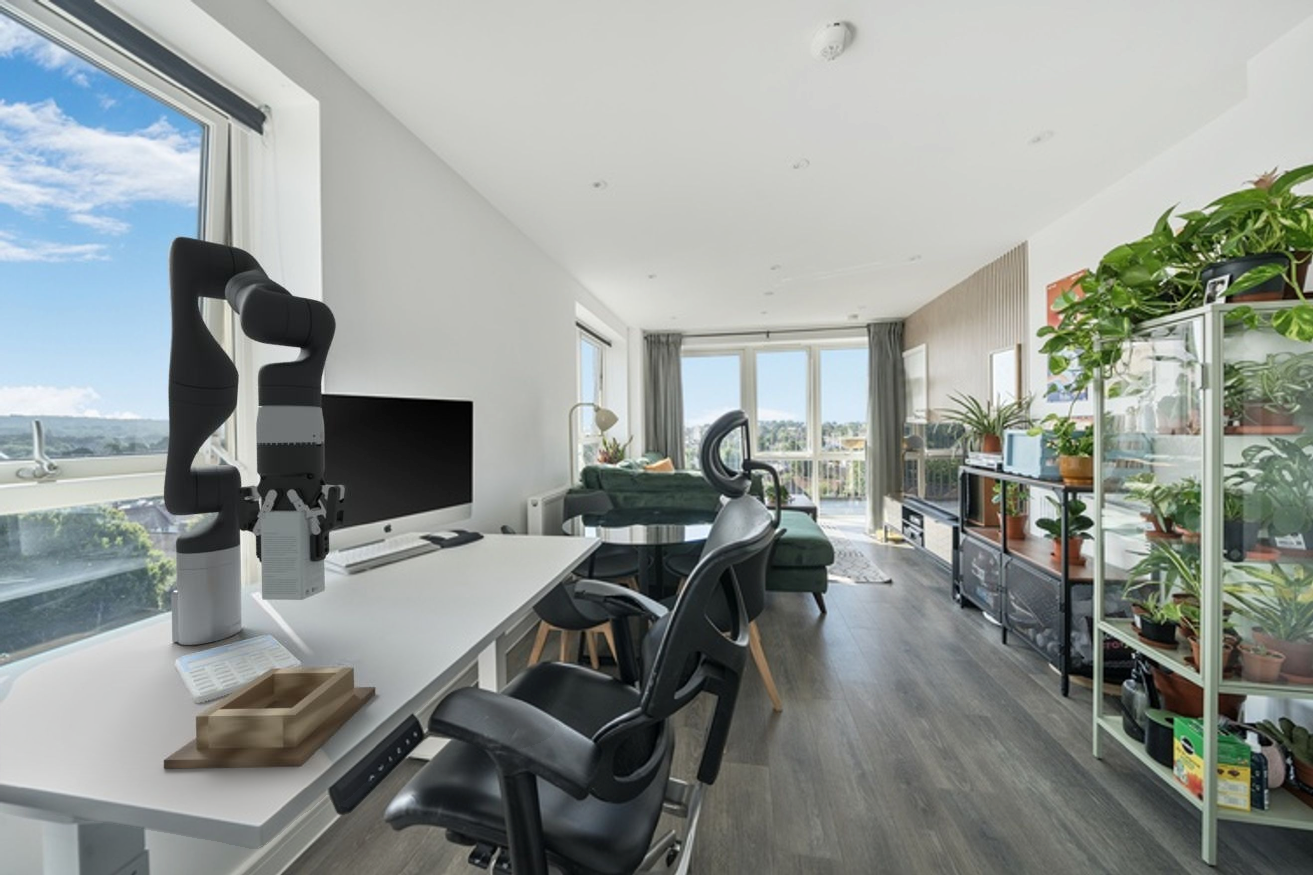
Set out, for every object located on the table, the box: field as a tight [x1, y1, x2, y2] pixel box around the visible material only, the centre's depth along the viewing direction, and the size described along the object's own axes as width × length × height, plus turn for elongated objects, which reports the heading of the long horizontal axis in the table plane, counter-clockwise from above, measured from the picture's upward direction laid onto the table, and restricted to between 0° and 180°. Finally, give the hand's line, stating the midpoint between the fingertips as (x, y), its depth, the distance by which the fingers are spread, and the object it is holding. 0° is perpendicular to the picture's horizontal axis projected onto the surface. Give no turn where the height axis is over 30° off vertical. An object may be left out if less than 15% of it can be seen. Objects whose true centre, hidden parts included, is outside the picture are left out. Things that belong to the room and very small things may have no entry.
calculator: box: [174, 634, 303, 704], centre depth 82 cm, size 13×20×2 cm, turn 51°
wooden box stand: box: [163, 667, 376, 769], centre depth 66 cm, size 16×16×5 cm
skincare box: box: [260, 508, 326, 601], centre depth 67 cm, size 6×4×12 cm
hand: (293, 560), depth 67 cm, fingers closed on skincare box, 6 cm apart
